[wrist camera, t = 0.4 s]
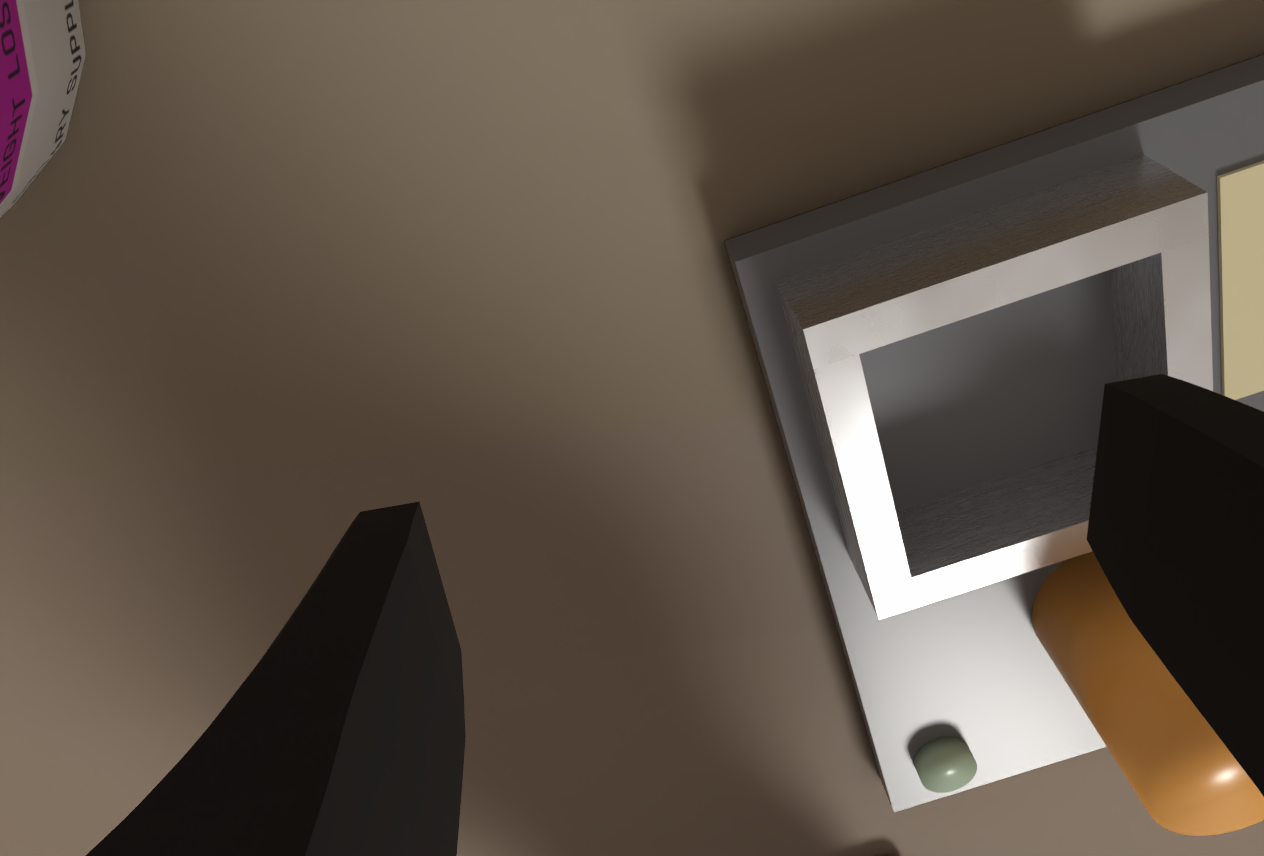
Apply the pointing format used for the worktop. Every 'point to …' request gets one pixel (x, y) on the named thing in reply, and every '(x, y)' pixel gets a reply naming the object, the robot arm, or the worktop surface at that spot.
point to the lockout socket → (969, 285)
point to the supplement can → (35, 87)
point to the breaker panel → (998, 416)
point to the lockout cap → (1140, 707)
